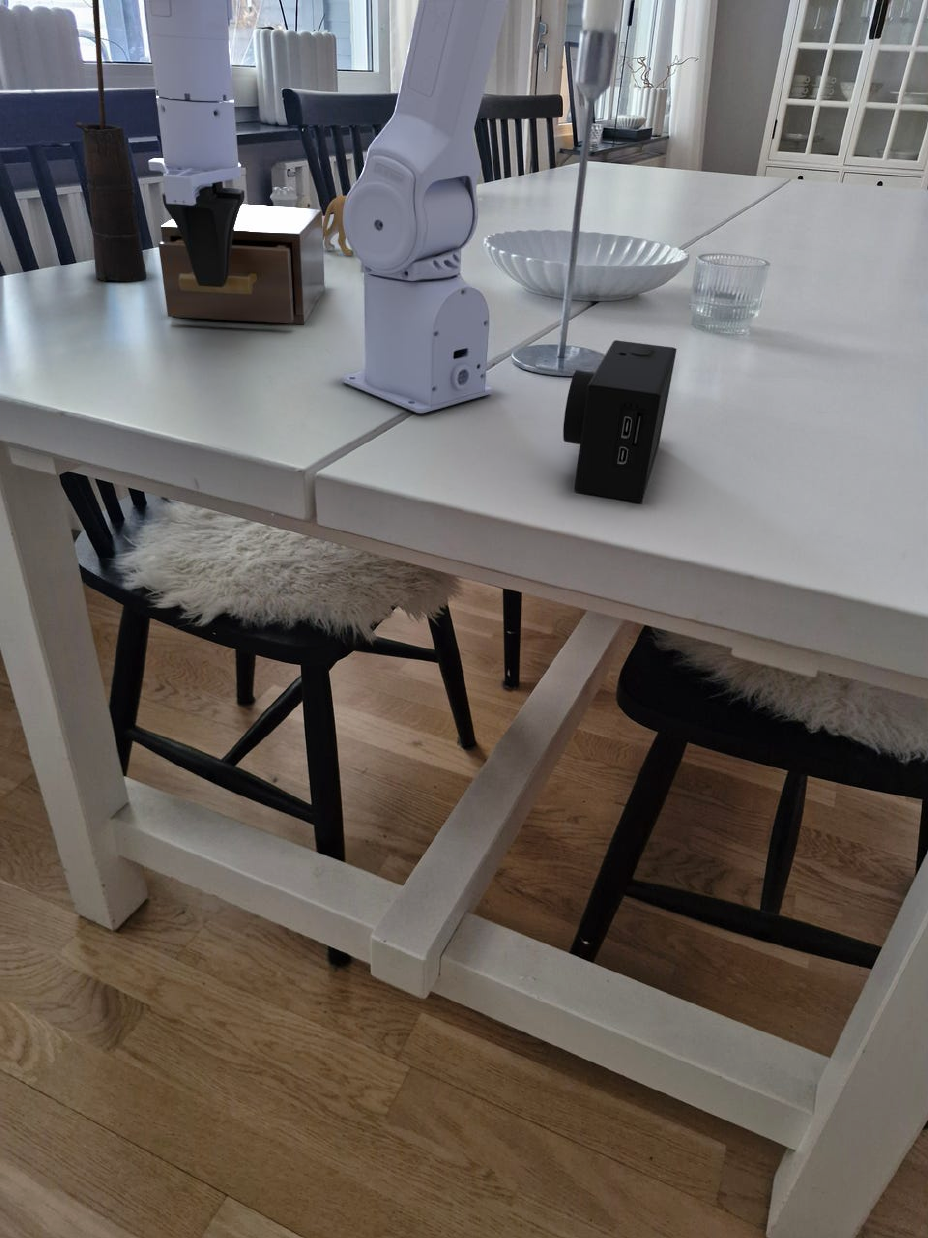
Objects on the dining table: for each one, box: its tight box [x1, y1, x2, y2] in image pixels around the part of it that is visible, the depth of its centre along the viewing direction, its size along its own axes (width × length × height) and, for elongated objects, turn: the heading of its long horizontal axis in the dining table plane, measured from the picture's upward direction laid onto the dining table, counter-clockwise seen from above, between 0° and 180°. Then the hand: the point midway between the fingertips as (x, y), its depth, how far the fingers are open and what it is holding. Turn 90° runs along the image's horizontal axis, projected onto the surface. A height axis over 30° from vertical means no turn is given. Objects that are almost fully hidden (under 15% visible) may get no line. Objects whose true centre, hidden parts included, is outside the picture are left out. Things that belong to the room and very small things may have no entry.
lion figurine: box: [322, 195, 355, 257], centre depth 111 cm, size 15×5×9 cm, turn 103°
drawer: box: [158, 237, 295, 324], centre depth 82 cm, size 18×11×6 cm, turn 0°
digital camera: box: [562, 339, 677, 504], centre depth 56 cm, size 10×5×7 cm, turn 163°
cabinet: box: [160, 204, 326, 325], centre depth 87 cm, size 15×13×8 cm
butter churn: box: [75, 0, 147, 282], centre depth 87 cm, size 9×10×28 cm
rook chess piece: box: [269, 186, 298, 208], centre depth 105 cm, size 4×4×8 cm
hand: (212, 283), depth 74 cm, fingers closed
